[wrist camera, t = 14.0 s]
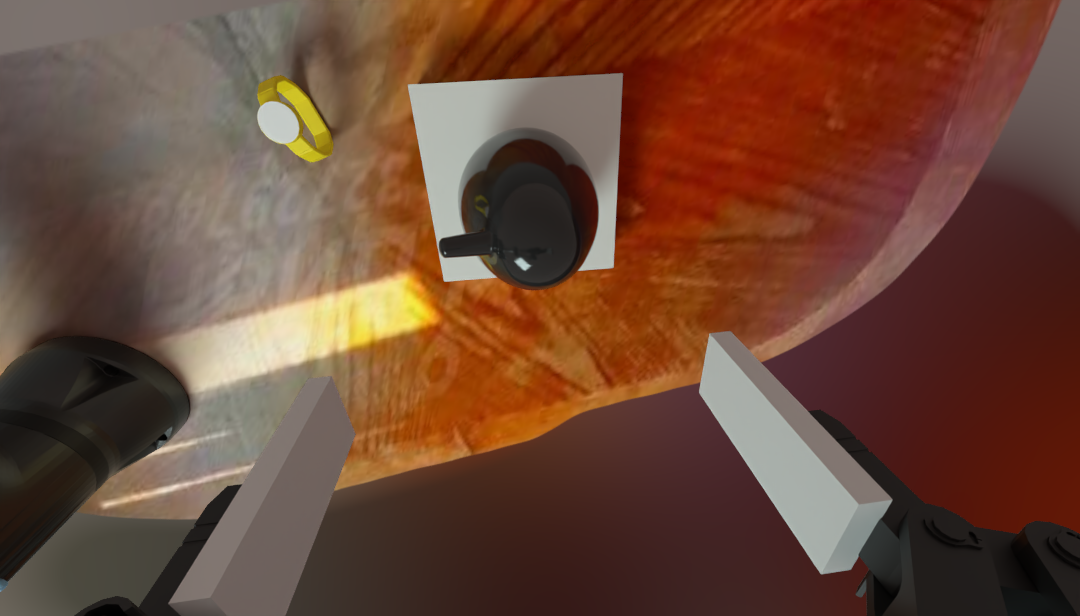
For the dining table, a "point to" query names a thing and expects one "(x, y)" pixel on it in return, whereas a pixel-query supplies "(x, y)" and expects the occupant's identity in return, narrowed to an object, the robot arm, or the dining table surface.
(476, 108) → the ceramic base
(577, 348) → the dining table surface
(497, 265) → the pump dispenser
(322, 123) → the watch
